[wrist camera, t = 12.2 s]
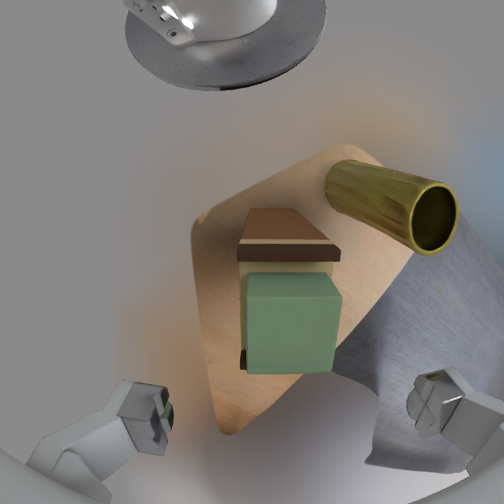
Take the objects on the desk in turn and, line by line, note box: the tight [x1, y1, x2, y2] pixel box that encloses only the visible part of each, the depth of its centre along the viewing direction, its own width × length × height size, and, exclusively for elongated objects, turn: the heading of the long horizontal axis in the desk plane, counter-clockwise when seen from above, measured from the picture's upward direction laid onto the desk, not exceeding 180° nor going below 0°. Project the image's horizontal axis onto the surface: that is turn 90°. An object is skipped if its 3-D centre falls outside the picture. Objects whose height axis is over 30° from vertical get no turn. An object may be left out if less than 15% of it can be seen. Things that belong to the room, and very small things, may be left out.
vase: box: [324, 160, 459, 255], centre depth 22 cm, size 6×6×14 cm
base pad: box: [237, 208, 341, 370], centre depth 22 cm, size 7×5×18 cm
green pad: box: [245, 272, 343, 374], centre depth 13 cm, size 4×4×3 cm
